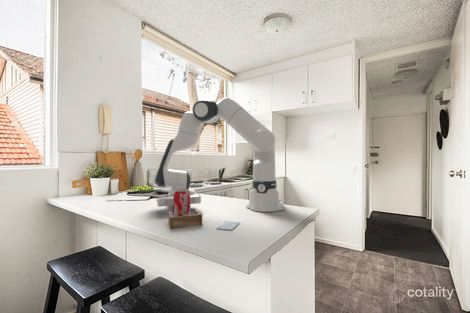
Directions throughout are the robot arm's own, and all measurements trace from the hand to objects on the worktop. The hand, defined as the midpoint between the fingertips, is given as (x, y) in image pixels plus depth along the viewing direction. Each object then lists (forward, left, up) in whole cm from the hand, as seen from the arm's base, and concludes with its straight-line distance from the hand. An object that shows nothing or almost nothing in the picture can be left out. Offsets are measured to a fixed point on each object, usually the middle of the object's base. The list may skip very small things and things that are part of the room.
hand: (181, 203), depth 101 cm
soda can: (+2, +2, -6) cm, 6 cm away
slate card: (+8, +26, -6) cm, 28 cm away
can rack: (+9, +8, -5) cm, 13 cm away
